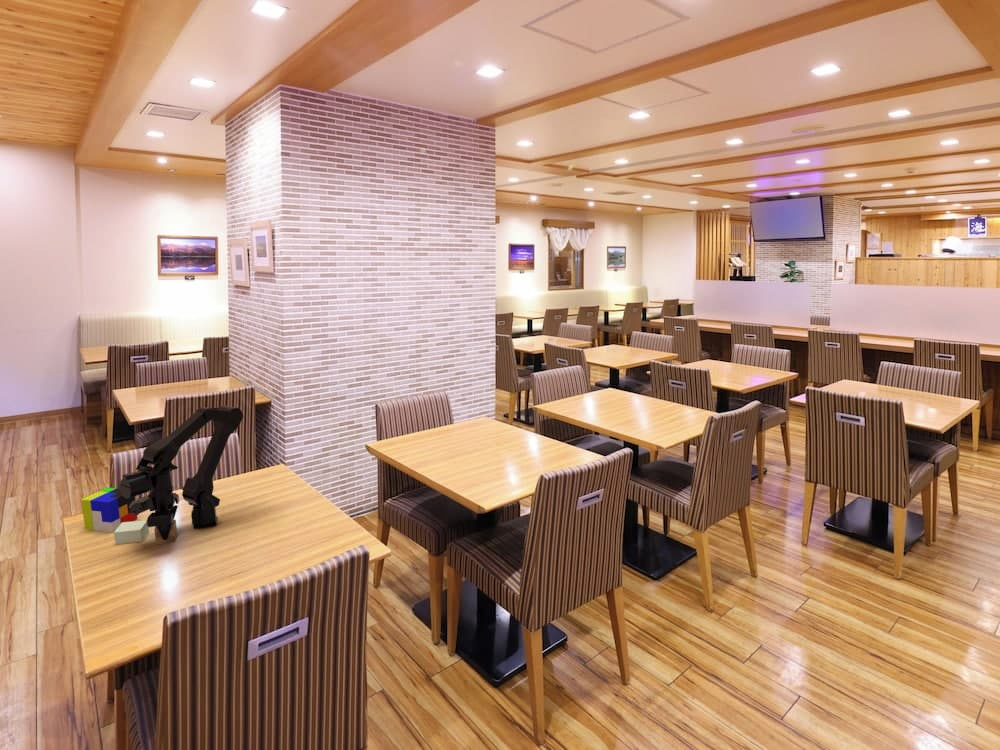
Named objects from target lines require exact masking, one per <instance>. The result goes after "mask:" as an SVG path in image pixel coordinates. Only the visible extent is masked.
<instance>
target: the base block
mask: <svg viewBox="0 0 1000 750" xmlns="http://www.w3.org/2000/svg"><path fill="white" fill-rule="evenodd" d="M149 532H150V531H149V527H147V519H146V520H135V521H133V522H122V523H121V524H120V526H119V527H118V528H117V529H116V530H115V531H114V532H113V535H114V536H113V537H114V544H115V545H121V544H131V543H142V542H143V541H144V539H145V538H146V536H147V535H148V533H149Z"/></svg>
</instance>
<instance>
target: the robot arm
mask: <svg viewBox="0 0 1000 750" xmlns="http://www.w3.org/2000/svg"><path fill="white" fill-rule="evenodd" d="M243 419H244V414H243V412H242V410H241V408H239V407H233V406H229V405H221V406H218V407H205V406H201V407H199V408H197V409H196V411H195V412H194V413H193V414H191V415H190V416H189V417H188V418H187V419H185V421H184V422H182V423H181V424H180V425H179V426H177V428H176V429H174V430H173V431H172V432H171V433H170V434H169V435H167V436H165V437H163V438H161V439H158V440H156V441H154V442H153V443H151V444H149V445H148V446H147V447H146V448H145V449H143V451H142V452H143V453H142V457H141V459H140V460H139V462H138V463H137V466H136V468H135V471H133V472H130V473H125V474H122V476H121V477H122V479H120V481H119V485H118V487H119V488H118V489H120V491H121V494H122V495H123V496H124V497H125V498H126V499H128V498H131V497H134V496H135V497H137V496H141V495H142V494H146V493H148V492H149V491H150V492H149V493H148V494H147V495H144V496H142V497H140V498H137V499H135V501H133V502H132V503H131V504H130V506H129V509H130V513H133V515H134V516H137V517H138V515H140V514H142V513H144V512H146V511H148V510H149V512H150V514H149V515H148V517H147V518H146V520H147V527H148V528H153V527H154V528H155V526H156V527H157V528H158V530H159V532H160V534H161V536H162V539H163V540H167V539H168V535H169V532H170V529H171V526H172V523H173V520H175V516H176V513H177V512H178V511H177V510H178V507H179V506H178V504H179V503H180V495H179V494H178V493H176V492H174V490H175V488H174V487H175V486H173V483H172V471H174V470H177V469H179V466H177V465H175V464H174V463H172V462H173V460H175V458H176V456H178V453H179V450H180V448H181V447H183V445H185V444H186V442H188V441H189V440H190V439H191V438H192V437H193V436H195V434H197V433H198V432H199V431H200V430H201V429H202V428H204V427H205V425H207V424H208V423H209V422H211V421H212V422H213V423H212V424H213V433H212V435H211V438H210V440H209V442H208V445H207V447H206V450H205V452H204V455H203V457H202V460H201V462H200V465H199V467H198V469H197V471H196V473H195V475H194V476H192V477H187V478H186V479H185V482H184V486H183V487H182V488H181V490H182V493H181V496H182V498H183V500H184V501H186V502H187V503H188V505H189V506H192V510H191V514H190V515H191V523H192V526H193V529H203V528H210V527H216V526H217V524H218V516H217V509H216V507H218V506H220V503H221V502H220V501H221V499H220V498H219V497H217V496H215V495H213V491H214V488H215V487H214V479H213V478H214V476H215V473H216V471H217V468H218V466H219V464H220V461H221V458H222V455H223V453H224V451H225V448H226V446H227V443H228V441H229V439H230V437H231V435H232V434H233V433H234V432H235V431H236V430H237V429H238V428H239V426H240V425H241V423H242V421H243ZM149 465H152V466H149Z"/></svg>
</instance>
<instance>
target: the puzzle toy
mask: <svg viewBox="0 0 1000 750" xmlns="http://www.w3.org/2000/svg"><path fill="white" fill-rule="evenodd" d="M135 500H136V496H134V497H131V498H128V499H126V498H125V497H124V496H123V495H122V494H121V491H120V488H117V487H116V488H114V487H105V488H103V489H102V490H99V491H98V492H95V493H92V494H90V495H88V496H86V497H84V498H81V499H80V502H81V508H82V515H83V516H82V517H83V522H84V530H86V529H87V530H86V531H96V532H104V533H105V532H106V533H114V532H115V530H116V529H117V528H118V527H119V526H120V524H121V523H122V522H133V521H137V520H138V515H137V516H134V515H133V513H130V509H129V506H130V504H131V503H132V502H133V501H135Z"/></svg>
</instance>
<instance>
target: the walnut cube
mask: <svg viewBox="0 0 1000 750" xmlns="http://www.w3.org/2000/svg"><path fill="white" fill-rule="evenodd" d="M154 537H155V543H156V544H155V545H162V544H169V543H176V541H177V537H178V528H177V520H176V519H174V520H173V523H172V526H171V529H170V532H169V535H168V539H167V540H163V539H162V536H161V534H160V532H159V530H158V528H157V527H156V526H155V527H154Z"/></svg>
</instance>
